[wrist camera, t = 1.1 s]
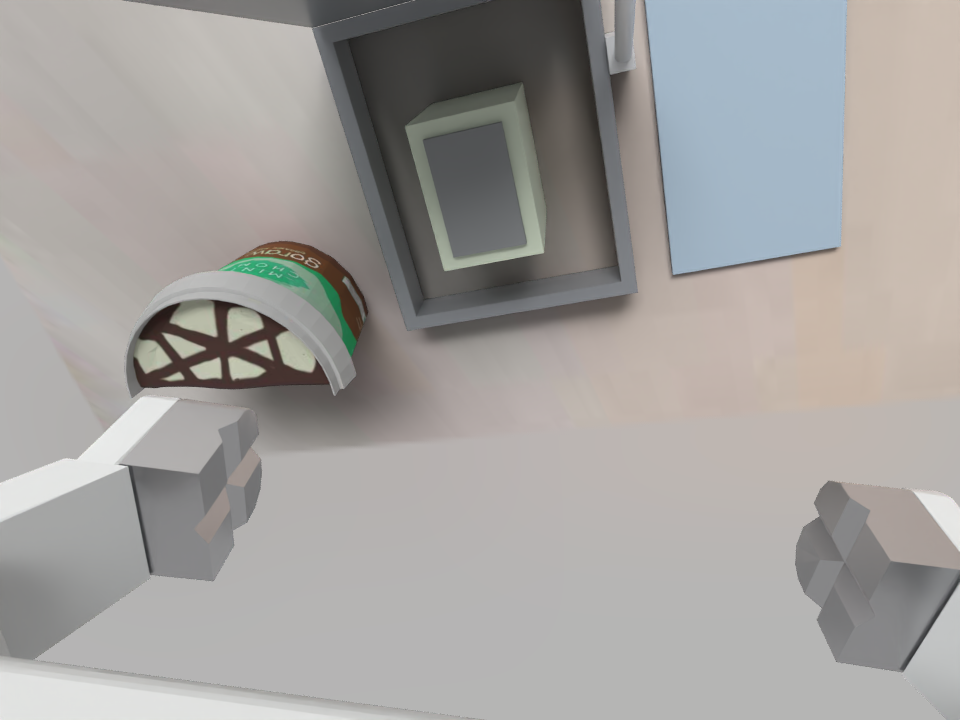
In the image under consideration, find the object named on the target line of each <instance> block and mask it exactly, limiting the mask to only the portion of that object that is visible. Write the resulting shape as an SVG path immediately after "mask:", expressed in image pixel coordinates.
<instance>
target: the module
mask: <svg viewBox="0 0 960 720" xmlns="http://www.w3.org/2000/svg"><path fill="white" fill-rule="evenodd" d="M405 129H406V133H407V137H408V140H409V144H410V148H411V151H412V155H413V159H414V162H415V166H416V170H417V173H418V177H419V181H420V184H421V188H422V192H423V195H424V199H425V203H426V206H427V210H428V214H429V217H430V221H431V225H432V228H433V232H434V236H435V239H436V243H437V247H438V250H439V254H440V258H441V261H442V265H443V269H444V271H449V270H455V269H460V268H466V267H471V266H476V265H482V264H487V263H493V262H498V261H504V260H509V259H514V258H520V257H525V256H531V255H536V254H542V253H544V248H545V233H546V218H547V209H546V204H545V198H544V193H543V188H542V182H541V177H540V172H539V166H538V161H537V156H536V150H535V145H534V140H533V134H532V129H531V124H530V118H529V113H528V108H527V102H526V97H525V92H524V86H523V82H521V83H516V84H512V85H508V86H504V87H500V88H496V89H491V90H487V91H483V92H479V93H475V94H470V95H466V96H462V97H458V98H454V99H450V100H445V101H441V102H437V103H433V104H431V105H430V106H428V107H427V108H426V109H425V110H424V111H422V112H421V113H420V114H419V115H418V116H417V117H415V118H414V119H413V120H412V121H411V122H409V123H408V124H407V125H406V126H405Z"/></svg>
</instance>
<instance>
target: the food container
mask: <svg viewBox="0 0 960 720" xmlns="http://www.w3.org/2000/svg"><path fill="white" fill-rule="evenodd" d="M367 314H368V311H367V307H366V304H365V300H364V296H363V295H362V293H361V291H360V289H359V288H358V286H357V284H356V283H355V281H354V279H353V278H352V276H351V275H350V274H349V273H348V272H347V271H346V270H345V269H344V268H343V267H342V266H341V265H340V264H339V263H338V262H337V261H336V260H335V259H334V258H332V257H331V256H329V255H327V254H325V253H323V252H321V251H319V250H318V249H316V248H314V247H312V246H309V245H305V244H300V243H296V242H288V241H279V242H271V243H267V244H264V245H261V246H259V247H257V248H255V249H253V250H251V251H249V252H248V253H246V254H245V255H243V256H241V257H240V258H238V259H236V260H235V261H233V262H231V263H230V264H228V265H226V266H225V267H223V268H221V269H220V270H218V271H209V272H201V273H196V274H193V275H189V276H186V277H183V278H181V279H179V280H177V281H175V282H173V283H171V284H169V285H168V286H166V287H165V288H164V289H163V290H162V291H160V292H159V293H158V294H157V295H156V296H155V297H154V298H153V300H152V301H151V302H150V303H149V305H148V306H147V307H146V309H145V310H144V312H143V313H142V315H141V316H140V318H139V319H138V320H137V322H136V324H135V326H134V328H133V330H132V332H131V334H130V338H129V342H128V346H127V350H126V354H125V362H124V374H125V381H126V386H127V390H128V393H129V396H130V398H133V397H134V396H135V395H137V394H138V393H139V392H140V391H142V390H143V389H144V388H159V387H205V388H217V389H245V388H256V387H266V386H279V385H324V384H330V385H331V388H332V391H333V395H334V396H336V394H337V393H338V391H339V389H344V388H345V387H346V386H347V385H348V384H349V383H350V382H351V381H352V380H353V379H354V378H355V377H356V371H355V368H354V365H353V361H352V359H351V357H352V354H353V351H354V349H355V346H356V343H357V341H358V338H359V335H360V333H361V330H362V327H363V325H364V322H365V319H366V317H367Z"/></svg>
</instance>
